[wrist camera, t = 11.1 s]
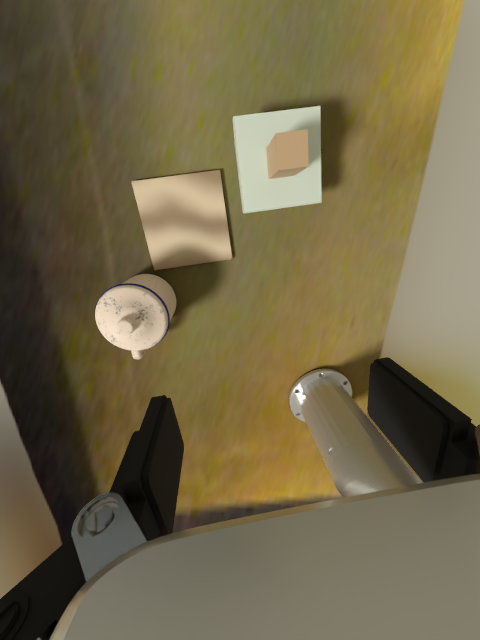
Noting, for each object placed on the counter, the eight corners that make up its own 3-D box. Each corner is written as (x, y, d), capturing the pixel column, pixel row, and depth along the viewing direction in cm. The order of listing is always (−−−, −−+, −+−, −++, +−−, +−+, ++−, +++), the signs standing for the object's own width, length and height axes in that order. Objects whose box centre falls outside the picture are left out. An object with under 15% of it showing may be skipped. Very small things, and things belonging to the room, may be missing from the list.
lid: (317, 203, 33) (340, 197, 27) (243, 213, 32) (249, 210, 26) (316, 110, 29) (341, 81, 23) (232, 120, 29) (237, 93, 23)
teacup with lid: (119, 267, 37) (80, 284, 27) (180, 276, 39) (167, 294, 28) (120, 339, 41) (86, 379, 31) (175, 344, 43) (162, 384, 32)
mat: (232, 258, 39) (232, 258, 38) (155, 269, 38) (154, 270, 37) (219, 170, 34) (219, 169, 34) (132, 182, 34) (131, 181, 33)
